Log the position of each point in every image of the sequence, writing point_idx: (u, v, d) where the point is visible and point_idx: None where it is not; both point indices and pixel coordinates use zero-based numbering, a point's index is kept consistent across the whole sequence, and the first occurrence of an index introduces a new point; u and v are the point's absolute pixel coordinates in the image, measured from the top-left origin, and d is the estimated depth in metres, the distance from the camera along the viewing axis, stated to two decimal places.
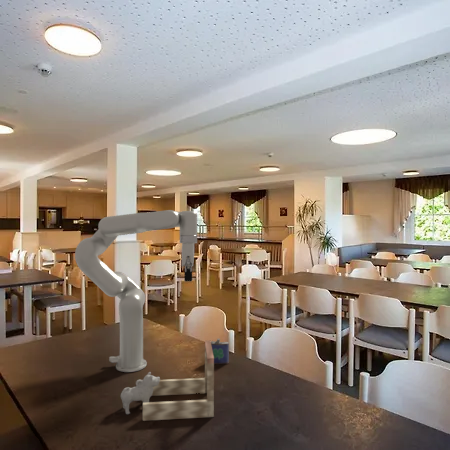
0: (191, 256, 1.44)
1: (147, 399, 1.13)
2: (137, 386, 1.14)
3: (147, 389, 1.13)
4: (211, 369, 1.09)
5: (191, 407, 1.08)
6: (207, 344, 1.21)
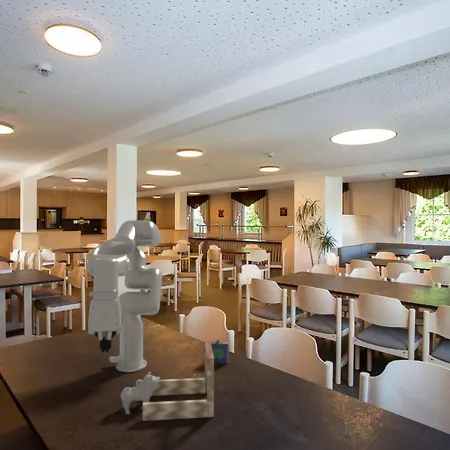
0: (122, 314, 1.15)
1: (147, 399, 1.13)
2: (137, 386, 1.14)
3: (147, 389, 1.13)
4: (211, 369, 1.09)
5: (191, 407, 1.08)
6: (207, 344, 1.21)
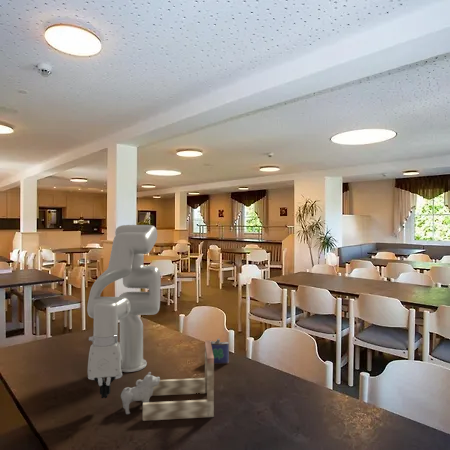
0: (121, 358, 1.15)
1: (147, 399, 1.13)
2: (137, 386, 1.14)
3: (147, 389, 1.13)
4: (211, 369, 1.09)
5: (191, 407, 1.08)
6: (207, 344, 1.21)
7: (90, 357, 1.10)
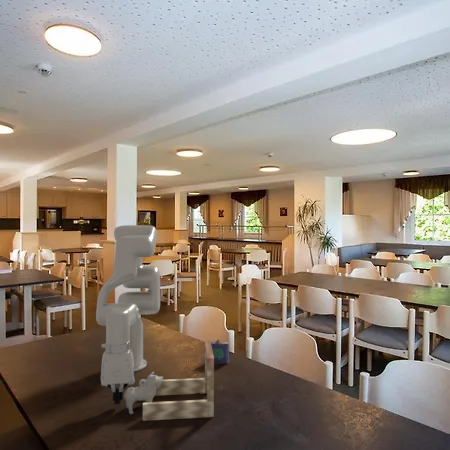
0: None
1: (150, 399, 1.13)
2: (140, 386, 1.14)
3: (151, 389, 1.14)
4: (211, 369, 1.09)
5: (191, 407, 1.08)
6: (207, 344, 1.21)
7: (103, 364, 1.11)
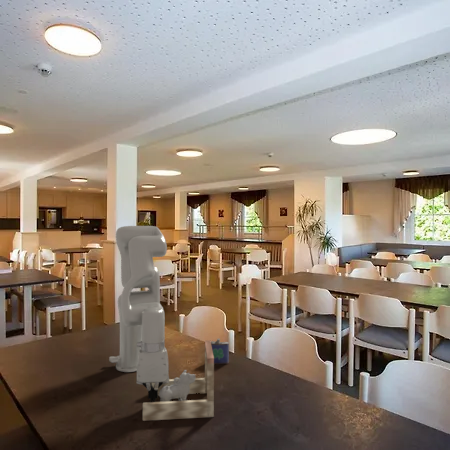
0: None
1: (185, 396, 1.15)
2: (175, 384, 1.15)
3: (185, 386, 1.15)
4: (211, 369, 1.09)
5: (191, 407, 1.08)
6: (207, 344, 1.21)
7: (139, 363, 1.12)
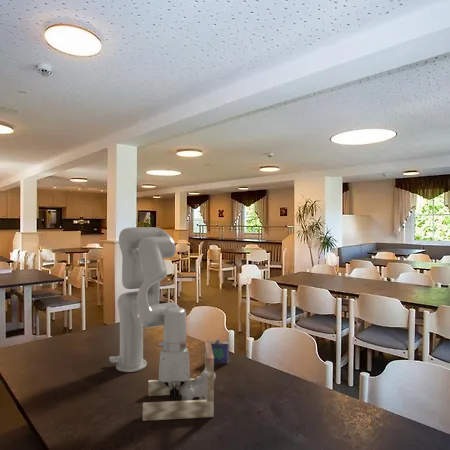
0: None
1: (206, 394, 1.16)
2: (196, 383, 1.16)
3: (206, 385, 1.17)
4: (211, 369, 1.09)
5: (191, 407, 1.08)
6: (207, 344, 1.21)
7: (161, 362, 1.13)
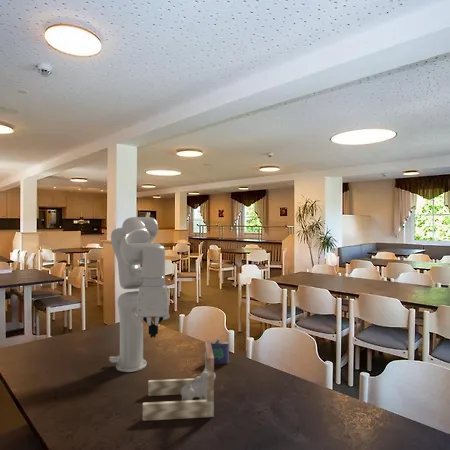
0: None
1: (206, 395, 1.16)
2: (197, 383, 1.16)
3: (206, 385, 1.17)
4: (211, 369, 1.09)
5: (191, 407, 1.08)
6: (207, 344, 1.21)
7: (140, 297, 1.13)
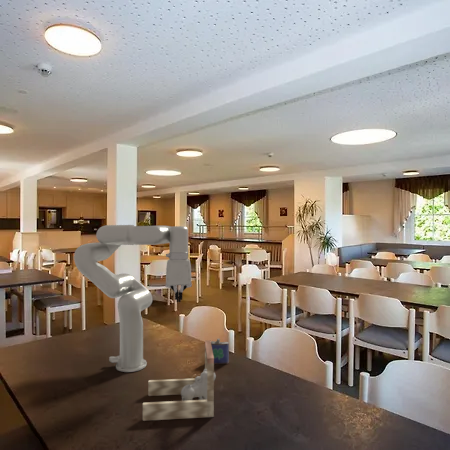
0: None
1: (206, 395, 1.16)
2: (197, 383, 1.16)
3: (206, 385, 1.17)
4: (211, 369, 1.09)
5: (191, 407, 1.08)
6: (207, 344, 1.21)
7: (168, 269, 1.37)
